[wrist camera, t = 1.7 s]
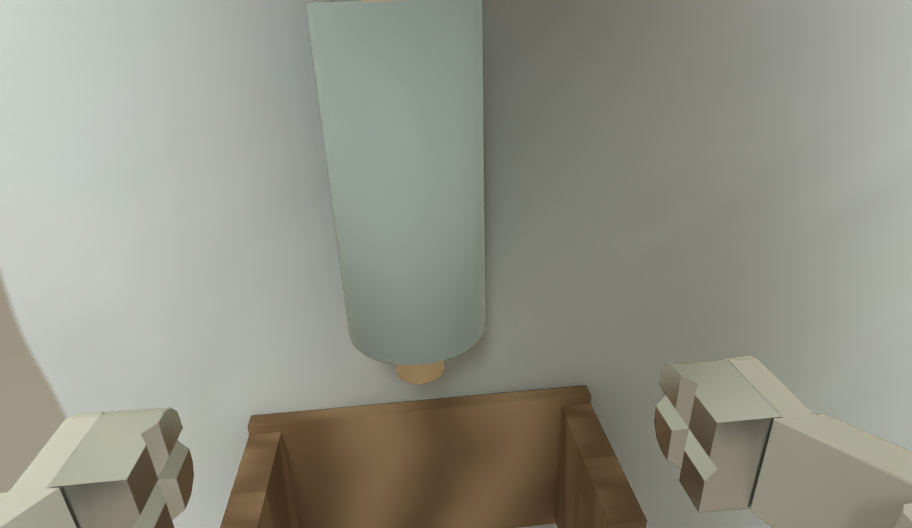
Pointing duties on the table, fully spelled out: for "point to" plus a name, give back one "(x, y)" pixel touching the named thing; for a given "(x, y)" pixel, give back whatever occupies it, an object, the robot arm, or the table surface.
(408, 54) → the paper roll
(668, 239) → the table surface
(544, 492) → the roll holder
